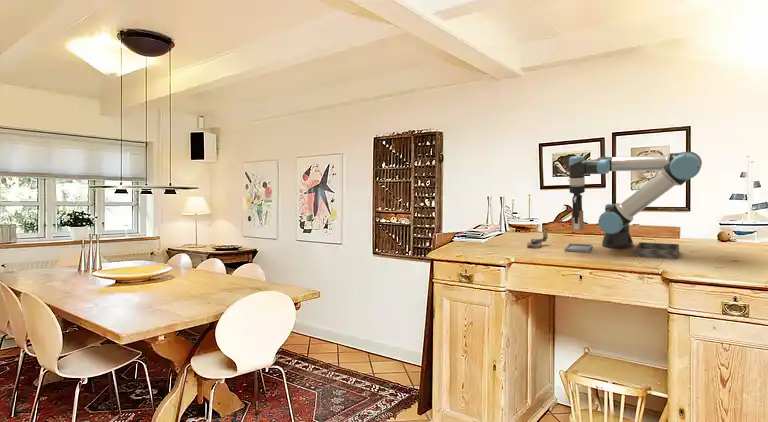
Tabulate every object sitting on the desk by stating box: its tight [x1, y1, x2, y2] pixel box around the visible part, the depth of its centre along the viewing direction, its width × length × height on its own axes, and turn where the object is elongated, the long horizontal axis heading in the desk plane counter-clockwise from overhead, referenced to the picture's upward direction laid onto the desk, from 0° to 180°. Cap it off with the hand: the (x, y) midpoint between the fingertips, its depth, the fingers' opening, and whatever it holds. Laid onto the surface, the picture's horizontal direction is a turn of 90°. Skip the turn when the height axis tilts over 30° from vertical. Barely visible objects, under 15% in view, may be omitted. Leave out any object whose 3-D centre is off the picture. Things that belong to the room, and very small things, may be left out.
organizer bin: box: [635, 241, 680, 260], centre depth 239 cm, size 18×14×4 cm
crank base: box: [526, 241, 543, 249], centre depth 275 cm, size 8×8×2 cm
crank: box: [530, 227, 549, 243], centre depth 275 cm, size 10×4×8 cm, turn 102°
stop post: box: [570, 209, 584, 232], centre depth 259 cm, size 5×5×10 cm
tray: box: [564, 242, 593, 253], centre depth 261 cm, size 12×12×2 cm
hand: (577, 228), depth 260 cm, fingers closed on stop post, 5 cm apart
